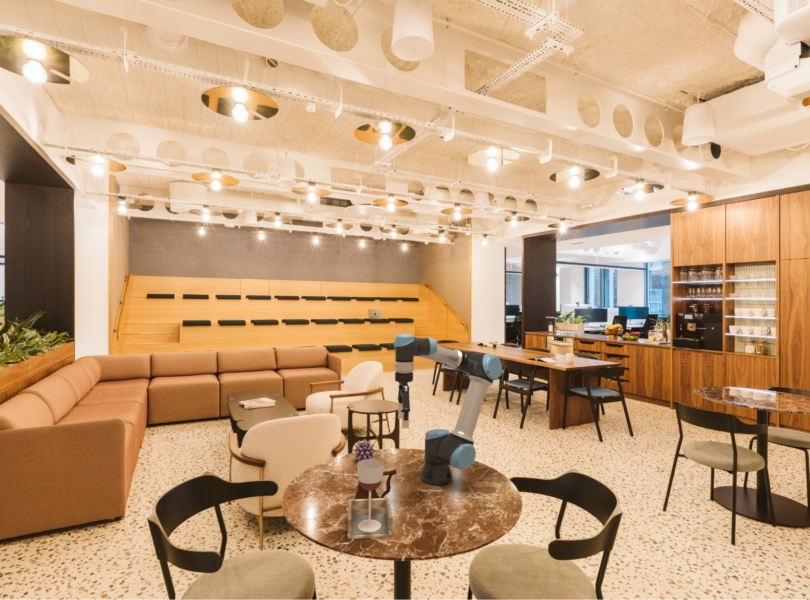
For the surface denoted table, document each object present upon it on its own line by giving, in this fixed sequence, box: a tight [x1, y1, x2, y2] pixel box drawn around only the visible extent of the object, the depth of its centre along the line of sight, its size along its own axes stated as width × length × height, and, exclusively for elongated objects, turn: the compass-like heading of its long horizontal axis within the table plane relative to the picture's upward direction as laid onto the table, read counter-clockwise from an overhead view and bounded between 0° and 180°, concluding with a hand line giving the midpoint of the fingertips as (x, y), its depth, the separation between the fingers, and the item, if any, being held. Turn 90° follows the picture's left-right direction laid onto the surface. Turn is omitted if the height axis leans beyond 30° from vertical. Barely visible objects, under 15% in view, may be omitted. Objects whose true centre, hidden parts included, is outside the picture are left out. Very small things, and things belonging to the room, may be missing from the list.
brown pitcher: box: [352, 468, 397, 500], centre depth 172 cm, size 18×12×15 cm, turn 94°
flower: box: [353, 438, 376, 462], centre depth 217 cm, size 12×12×12 cm
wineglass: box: [356, 458, 385, 532], centre depth 153 cm, size 9×10×23 cm
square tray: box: [347, 497, 394, 540], centre depth 154 cm, size 16×15×7 cm
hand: (403, 423), depth 169 cm, fingers open, 13 cm apart
